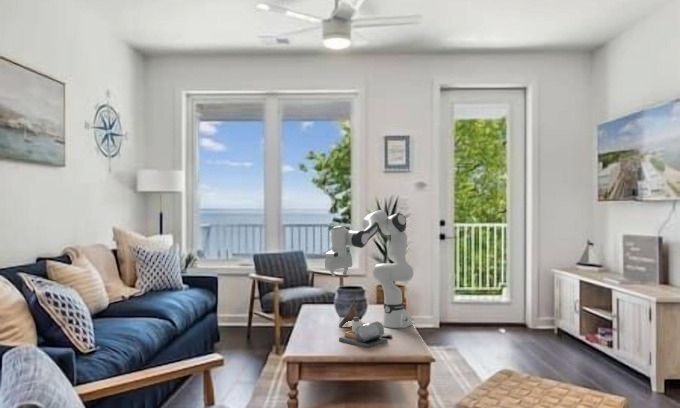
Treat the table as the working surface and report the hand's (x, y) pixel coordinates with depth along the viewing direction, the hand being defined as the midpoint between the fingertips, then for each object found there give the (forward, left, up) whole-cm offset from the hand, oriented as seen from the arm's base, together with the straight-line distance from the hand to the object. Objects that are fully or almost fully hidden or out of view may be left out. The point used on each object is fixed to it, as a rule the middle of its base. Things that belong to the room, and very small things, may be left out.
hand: (339, 276), depth 347 cm
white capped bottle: (+6, +19, -32) cm, 38 cm away
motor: (+6, +24, -34) cm, 42 cm away
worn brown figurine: (-16, -8, -34) cm, 39 cm away
